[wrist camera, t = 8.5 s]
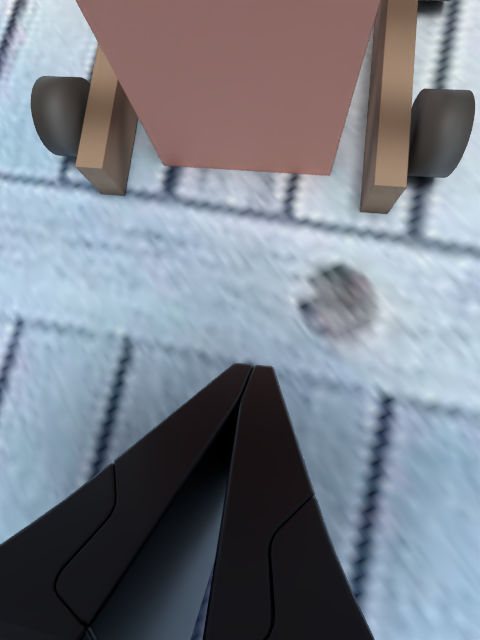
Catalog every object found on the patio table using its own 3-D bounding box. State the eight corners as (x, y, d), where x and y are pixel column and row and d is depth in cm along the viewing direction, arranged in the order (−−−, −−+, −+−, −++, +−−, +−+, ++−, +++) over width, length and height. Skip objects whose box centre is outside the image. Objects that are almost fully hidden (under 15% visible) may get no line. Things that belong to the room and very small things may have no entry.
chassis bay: (433, 216, 20) (472, 179, 16) (63, 191, 23) (18, 153, 19) (448, -79, 23) (485, -174, 19) (113, -75, 25) (83, -158, 21)
